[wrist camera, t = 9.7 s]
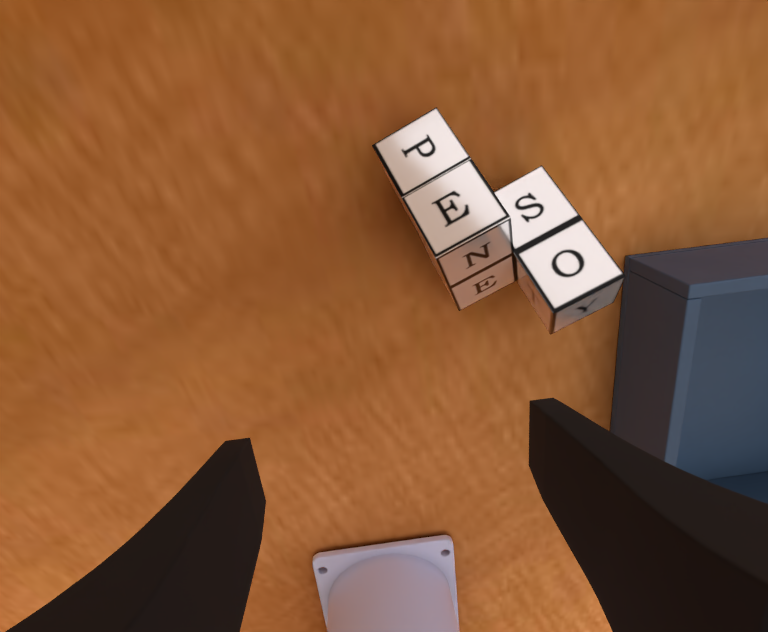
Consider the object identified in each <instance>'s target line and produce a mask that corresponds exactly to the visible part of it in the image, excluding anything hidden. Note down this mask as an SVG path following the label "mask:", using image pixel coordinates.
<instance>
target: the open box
mask: <svg viewBox="0 0 768 632" xmlns="http://www.w3.org/2000/svg"><path fill="white" fill-rule="evenodd" d="M624 274H625V278H624V281H623V291H622V303H621V314H620V325H619V337H618V348H617V359H616V371H615V382H614V393H613V405H612V416H611V427H610V432H611V433H613V434H615V435H616V436H618V437H620V438H622V439H623V440H625V441H627V442H629V443H630V444H632V445H634V446H636V447H638V448H640V449H641V450H643V451H645V452H647V453H649V454H651V455H653V456H655V457H657V458H659V459H661V460H663V461H665V462H667V463H669V464H671V465H673V466H675V467H677V468H679V469H682V470H684V471H686V472H688V473H691V474H693V475H695V476H697V477H700V478H702V479H704V480H706V481H709V482H711V483H714V484H716V485H719V486H721V487H724V488H726V489H729V490H731V491H734V492H737V493H740V494H742V495H745V496H748V497H750V498H753V499H756V500H759V501H761V502H764V503H767V504H768V238H764V239H756V240H748V241H740V242H732V243H724V244H716V245H708V246H700V247H692V248H684V249H676V250H668V251H660V252H652V253H644V254H636V255H628V256H626V257H625V269H624Z"/></svg>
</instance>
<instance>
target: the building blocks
mask: <svg viewBox="0 0 768 632" xmlns="http://www.w3.org/2000/svg"><path fill="white" fill-rule="evenodd" d="M372 147H373V149H374V151H375V153H376V155H377V157H378V159H379V161H380V163H381V165H382V167H383V169H384V171H385V173H386V175H387V177H388V179H389V182H390V184H391V186H392V187H393V189H394V191H395V193H396V195H397V196H398V198H399V200H400V202H401V204H402V205H403V207H404V209H405V211H406V212H407V214H408V216H409V218H410V220H411V221H412V223H413V225H414V227H415V229H416V230H417V232H418V234H419V236H420V238H421V240H422V242H423V244H424V247H425V249H426V251H427V253H428V255H429V257H430V259H431V261H432V263H433V265H434V267H435V269H436V270H437V272H438V274H439V276H440V278H441V279H442V281H443V283H444V285H445V287H446V288H447V290H448V292H449V294H450V295H451V297H452V299H453V301H454V303H455V304H456V306H457V308H458V310H459V311H460V310H462V309H464V308H466V307H468V306H470V305H472V304H473V303H475V302H477V301H479V300H481V299H483V298H485V297H487V296H488V295H490V294H492V293H494V292H496V291H498V290H500V289H502V288H503V287H505V286H507V285H509V284H511V283H513V282H515V281H517V283H518V284H519V286H520V287H521V289H522V291H523V292H524V294H525V295H526V297H527V298H528V300H529V302H530V303H531V305H532V306H533V308H534V309H535V311H536V313H537V314H538V316H539V317H540V319H541V320H542V322H543V324H544V325H545V327H546V328H547V330H548V331H549V333H550V335H551V334H553V333H555V332H557V331H558V330H560V329H562V328H564V327H566V326H568V325H570V324H572V323H574V322H576V321H578V320H580V319H582V318H584V317H586V316H588V315H590V314H592V313H594V312H596V311H597V310H599V309H601V308H603V307H605V306H607V305H609V304H611V303H613V302H614V300H615V298H616V296H617V294H618V291H619V289H620V287H621V285H622V283H623V281H624V278H625V274H624V273H623V272H622V271H621V269H620V268H619V267H618V265H617V264H616V263H615V261H614V260H613V259H612V257H611V256H610V255H609V253H608V252H607V251H606V249H605V248H604V247H603V245H602V244H601V243H600V241H599V240H598V239H597V238H596V236H595V235H594V234H593V232H592V231H591V230H590V228H589V227H588V226H587V224H586V223H585V222H584V220H583V219H582V218H581V216H580V215H579V214H578V212H577V211H576V210H575V208H574V207H573V206H572V205H571V203H570V202H569V201H568V199H567V198H566V197H565V195H564V194H563V193H562V191H561V190H560V189H559V187H558V186H557V185H556V183H555V182H554V181H553V179H552V178H551V177H550V175H549V174H548V173H547V172H546V170H545V169H544V168H543V166H540V167H538V168H536V169H535V170H533V171H531V172H529V173H527V174H526V175H524V176H522V177H520V178H518V179H517V180H515V181H513V182H511V183H509V184H508V185H506V186H504V187H502V188H501V189H499V190H497V191H495V192H493V190H492V189H491V187H490V186H489V184H488V183H487V181H486V180H485V178H484V177H483V175H482V174H481V172H480V171H479V169H478V168H477V167H476V165H475V164H474V162H473V161H472V159H471V158H470V156H469V155H468V153H467V152H466V150H465V149H464V147H463V146H462V144H461V143H460V141H459V140H458V138H457V137H456V136H455V134H454V133H453V131H452V130H451V128H450V127H449V125H448V124H447V122H446V121H445V119H444V118H443V116H442V115H441V113H440V112H439V110H438V109H437V107H436V108H434V109H433V110H431V111H429V112H428V113H426V114H424V115H423V116H421V117H419V118H418V119H416V120H414V121H412V122H411V123H409V124H407V125H406V126H404V127H402V128H401V129H399V130H397V131H396V132H394V133H392V134H390V135H389V136H387V137H385V138H384V139H382V140H380V141H379V142H377V143H375V144H374V145H372Z"/></svg>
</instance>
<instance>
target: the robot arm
mask: <svg viewBox="0 0 768 632" xmlns="http://www.w3.org/2000/svg"><path fill="white" fill-rule="evenodd" d="M529 467H530V469H531V472H532V474H533V477H534V479H535V482H536V485H537V487H538V489H539V492H540V494H541V496H542V499H543V501H544V503H545V505H546V506H547V508H548V510H549V512H550V514H551V515H552V517H553V519H554V521H555V523H556V524H557V526H558V528H559V530H560V531H561V533H562V535H563V537H564V538H565V540H566V542H567V544H568V545H569V547H570V549H571V551H572V553H573V554H574V556H575V558H576V560H577V561H578V563H579V565H580V567H581V568H582V570H583V572H584V574H585V575H586V577H587V579H588V581H589V582H590V584H591V586H592V588H593V590H594V592H595V594H596V596H597V598H598V600H599V602H600V604H601V606H602V609H603V611H604V613H605V615H606V618H607V620H608V622H609V624H610V626H611V629H612V631H613V632H768V504H767V503H764V502H761V501H759V500H756V499H753V498H750V497H748V496H745V495H742V494H740V493H737V492H734V491H731V490H729V489H726V488H724V487H721V486H719V485H716V484H714V483H711V482H709V481H706V480H704V479H702V478H700V477H697V476H695V475H693V474H691V473H688V472H686V471H684V470H682V469H679V468H677V467H675V466H673V465H671V464H669V463H667V462H665V461H663V460H661V459H659V458H657V457H655V456H653V455H651V454H649V453H647V452H645V451H643V450H641V449H640V448H638V447H636V446H634V445H632V444H630V443H629V442H627V441H625V440H623V439H622V438H620V437H618V436H616V435H615V434H613V433H611V432H609V431H608V430H606V429H604V428H603V427H601V426H599V425H598V424H596V423H594V422H593V421H591V420H590V419H588V418H586V417H585V416H583V415H581V414H580V413H578V412H577V411H575V410H573V409H572V408H570V407H568V406H567V405H565V404H563V403H562V402H560V401H558V400H556V399H554V398H548V399H540V400H533V401H530V421H529ZM265 504H266V500H265V496H264V492H263V488H262V484H261V480H260V476H259V472H258V468H257V464H256V460H255V456H254V452H253V449H252V445H251V441H250V438H245V439H237V440H229V441H225V442H224V443H223V444H222V445H221V446H220V447H219V448H218V450H217V451H216V452H215V453H214V454H213V455H212V456H211V457H210V458H209V459H208V461H207V462H206V463H205V464H204V465H203V466H202V467H201V468H200V469H199V471H198V472H197V473H196V474H195V475H194V476H193V477H192V478H191V479H190V480H189V481H188V482H187V483H186V485H185V486H184V487H183V488H182V489H181V490H180V491H179V492H178V493H177V494H176V495H175V496H174V497H173V498H172V499H171V500H170V501H169V502H168V503H167V504H166V505H165V506H164V507H163V508H162V509H161V510H160V511H159V512H158V513H157V514H156V515H155V516H154V517H153V518H152V519H151V520H150V521H149V522H148V523H147V524H146V525H145V526H144V527H143V528H142V529H141V530H140V531H138V532H137V533H136V534H135V535H134V536H133V537H132V538H131V539H130V540H128V541H127V542H126V543H125V544H124V545H123V546H122V547H120V548H119V549H118V550H117V551H116V552H114V553H113V554H112V555H111V556H110V557H108V558H107V559H106V560H105V561H104V562H102V563H101V564H100V565H99V566H97V567H96V568H95V569H94V570H92V571H91V572H90V573H88V574H87V575H86V576H84V577H83V578H82V579H80V580H79V581H78V582H76V583H75V584H73V585H72V586H71V587H69V588H68V589H67V590H65V591H64V592H63V593H61V594H60V595H59V596H57V597H56V598H55V599H53V600H52V601H51V602H49V603H48V604H46V605H45V606H43V607H42V608H40V609H39V610H38V611H36V612H35V613H33V614H32V615H30V616H29V617H27V618H26V619H24V620H23V621H21V622H20V623H18V624H17V625H15V626H14V627H12V628H10V629H9V630H7V631H6V632H240V628H241V623H242V619H243V615H244V611H245V607H246V603H247V599H248V595H249V591H250V586H251V582H252V578H253V574H254V570H255V566H256V562H257V557H258V553H259V549H260V544H261V540H262V532H263V524H264V514H265ZM443 550H445V551H443ZM312 565H313V569H314V574H315V578H316V583H317V587H318V592H319V596H320V601H321V605H322V609H323V614H324V618H325V623H326V627H327V632H459V619H458V604H457V590H456V575H455V560H454V546H453V541H452V538H451V537H450V536H448V535H439V536H432V537H425V538H418V539H411V540H404V541H397V542H390V543H383V544H376V545H369V546H362V547H355V548H347V549H340V550H333V551H326V552H320V553H317V554H315V555H314V557H313V564H312ZM321 567H325V568H321Z"/></svg>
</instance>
